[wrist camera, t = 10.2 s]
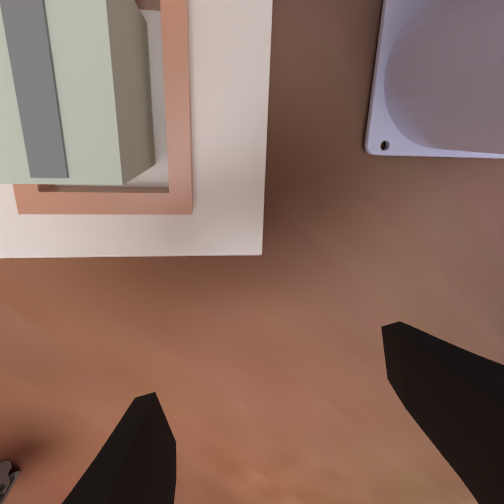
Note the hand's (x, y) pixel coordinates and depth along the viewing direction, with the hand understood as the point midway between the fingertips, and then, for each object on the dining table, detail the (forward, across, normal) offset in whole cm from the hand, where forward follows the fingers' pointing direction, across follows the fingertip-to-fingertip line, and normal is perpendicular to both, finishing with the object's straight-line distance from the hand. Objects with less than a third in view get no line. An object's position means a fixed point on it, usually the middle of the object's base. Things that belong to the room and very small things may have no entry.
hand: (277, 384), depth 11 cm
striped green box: (+9, +4, -10) cm, 14 cm away
